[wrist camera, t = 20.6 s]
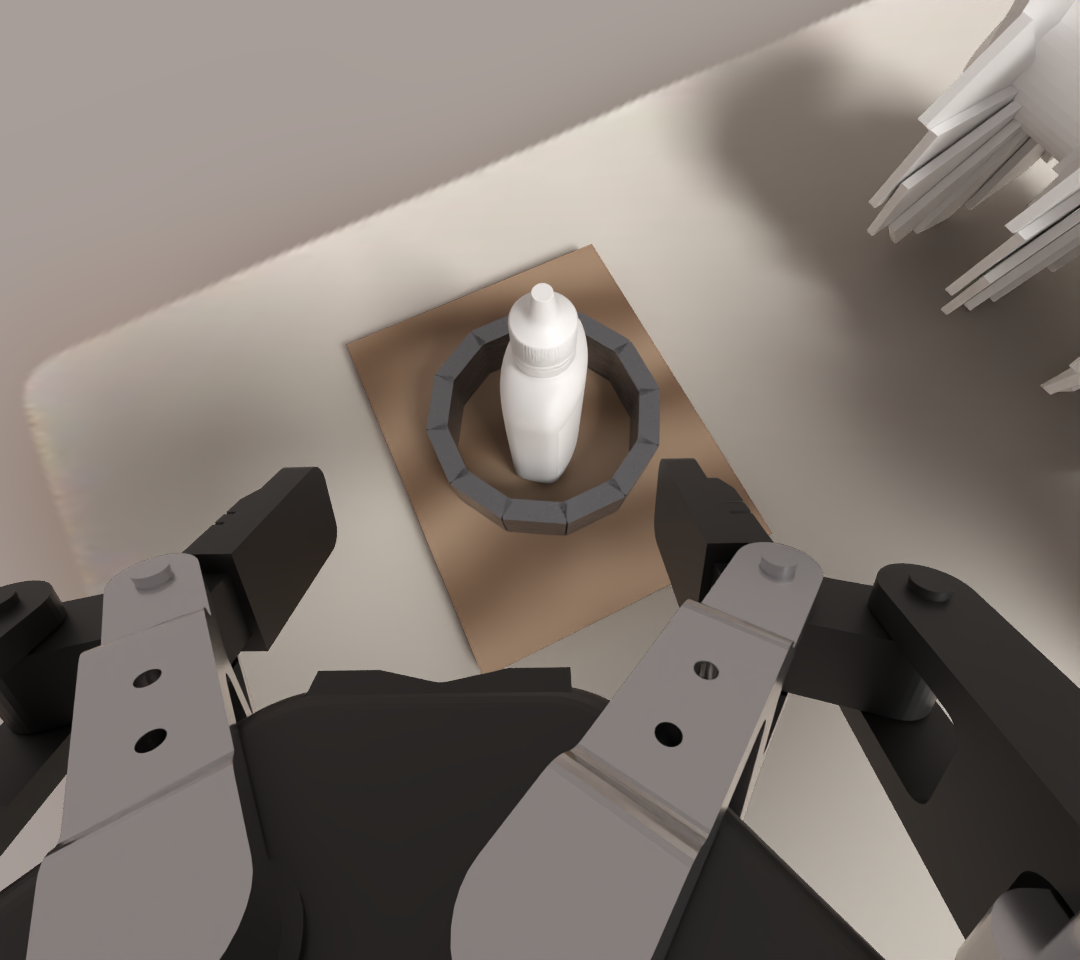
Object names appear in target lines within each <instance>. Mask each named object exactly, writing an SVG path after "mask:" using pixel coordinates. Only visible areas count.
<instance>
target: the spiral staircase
mask: <svg viewBox="0 0 1080 960" xmlns="http://www.w3.org/2000/svg"><path fill="white" fill-rule="evenodd" d="M918 120H919V121H920V122H921V123H922V124H923V125H924V126H925V127H926V128H927V129H928V130H929V131H928V132H927V134H926V135H925V136H924V137H923V138H922V140H921V141H920V142H919V143H918V144H917V145H916V147H915V148H914V149H913V150H912V151H911V152H910V154H909V155H908V156H907V157H906V158H905V159H904V161H903V162H902V163H901V164H900V165H899V167H898V168H897V169H896V170H895V171H894V172H893V174H892V175H891V176H890V177H889V178H888V179H887V181H886V182H885V183H884V184H883V185H882V187H881V188H880V189H879V190H878V191H877V192H876V194H875V195H874V196H873V197H872V198H871V199H870V201H869V203H870V204H871V205H872V206H873V207H874V208H876V207H878V206H879V205H881V204H883V203H885V202H886V201H888V200H889V201H888V202H887V204H886V205H885V206H884V208H883V209H882V210H881V212H880V213H879V214H878V216H877V217H876V218H875V220H874V221H873V223H872V224H871V225H870V227H869V228H868V229H867V232H868V233H869V234H870V235H871V236H874V235H875V234H877V233H878V232H879V231H881V230H882V229H883V228H885V227H886V226H888V225H889V224H890V223H891V224H890V225H889V234H890V239H891V240H892V241H893V242H894V243H895V244H896V243H897V242H898V241H900V240H901V239H902V238H903V237H904V236H906V235H907V234H908V233H909V232H911V231H912V230H913V231H914V232H915V233H916V234H919V233H921V232H923V231H925V230H926V229H928V228H930V227H932V226H934V225H936V224H938V223H940V222H942V221H944V220H946V219H948V218H949V217H950V216H951V215H952V214H953V213H955V212H956V211H957V210H958V209H959V208H960V207H961V206H963V205H964V204H965V203H966V202H967V201H968V200H969V199H970V198H971V199H970V200H969V201H968V202H967V203H966V204H965V206H966V207H967V208H968V209H969V210H972V209H973V208H974V207H976V206H977V205H979V204H980V203H982V202H983V201H984V200H986V199H987V198H989V197H990V196H991V195H993V194H994V193H996V192H997V191H998V190H1000V189H1001V188H1003V187H1004V186H1005V185H1007V184H1008V183H1010V182H1011V181H1012V180H1014V179H1015V178H1017V177H1018V176H1019V175H1021V174H1022V173H1024V172H1025V171H1026V170H1028V169H1029V168H1030V167H1031V166H1032V165H1033V164H1034V163H1035V162H1036V161H1037V160H1038V159H1039V158H1040V157H1041V156H1042V157H1041V159H1043V160H1044V161H1045V162H1046V163H1048V162H1049V161H1050V160H1052V159H1053V158H1055V159H1056V160H1057V161H1059V163H1058V164H1057V165H1055V166H1054V167H1053V168H1052V169H1053V170H1054V171H1055V172H1056V173H1058V174H1059V176H1058V177H1057V178H1056V179H1055V180H1054V181H1053V182H1051V183H1050V184H1049V185H1048V186H1047V187H1046V188H1045V189H1044V190H1043V191H1042V192H1041V193H1040V194H1039V195H1038V196H1037V197H1035V198H1034V199H1033V200H1032V201H1031V202H1030V203H1029V204H1028V205H1027V206H1028V208H1027V209H1026V210H1024V211H1023V212H1022V213H1020V214H1019V215H1018V216H1016V217H1015V218H1014V219H1013V220H1011V221H1010V222H1009V223H1007V224H1006V225H1005V227H1007V228H1008V229H1009V230H1010V231H1011V232H1012V233H1016V234H1015V235H1013V236H1012V237H1011V238H1010V239H1008V240H1007V241H1006V242H1004V243H1003V244H1002V245H1001V246H999V247H998V248H997V249H995V250H994V251H993V252H992V253H990V254H989V255H988V256H987V257H985V258H984V259H983V260H981V261H980V262H979V263H978V264H976V265H975V266H974V267H972V268H971V269H970V270H969V271H967V272H966V273H965V274H964V275H962V276H961V277H960V278H958V279H957V280H956V281H955V282H953V283H952V284H951V285H949V286H948V287H947V288H946V289H945V290H946V291H947V292H948V293H949V294H950V295H951V296H952V295H954V294H955V293H957V292H958V291H960V290H961V289H963V288H964V287H965V286H967V285H968V284H970V283H971V282H973V281H974V280H976V279H977V278H979V277H980V276H982V275H983V274H985V273H986V272H988V271H989V270H990V269H992V268H993V267H995V266H996V265H998V264H999V263H1001V262H1002V261H1004V260H1005V259H1007V258H1008V257H1010V256H1011V255H1013V254H1014V253H1016V252H1017V251H1018V250H1020V249H1021V248H1023V247H1024V246H1026V245H1027V244H1029V243H1030V242H1031V243H1030V244H1029V245H1027V246H1026V247H1024V248H1023V249H1021V250H1020V251H1019V252H1017V253H1016V254H1014V255H1013V256H1011V257H1010V258H1009V259H1007V260H1006V261H1004V262H1003V263H1001V264H1000V265H999V266H997V267H996V268H994V269H993V270H991V271H990V272H989V273H987V274H986V275H984V276H983V277H982V278H980V279H979V280H978V281H976V282H975V283H974V284H972V285H971V286H970V287H968V288H967V289H966V290H965V291H963V292H962V293H961V294H959V295H958V296H957V297H955V298H954V299H953V300H952V301H950V302H949V303H948V304H946V305H945V306H944V307H942V308H941V310H942V311H943V312H944V313H945V314H946V315H948V314H949V313H951V312H952V311H954V310H955V309H957V308H958V307H959V306H961V305H962V304H964V303H965V302H966V303H965V304H964V306H965V307H966V308H967V309H968V310H969V311H970V310H972V309H973V308H975V307H976V306H978V305H979V304H981V303H982V302H984V301H985V300H986V299H988V298H990V299H991V300H992V301H993V302H995V301H997V300H998V299H1000V298H1001V297H1003V296H1004V295H1006V294H1007V293H1009V292H1010V291H1011V290H1013V289H1014V288H1016V287H1017V286H1019V285H1020V284H1022V283H1023V282H1025V281H1026V280H1028V279H1029V278H1031V277H1032V276H1034V275H1035V274H1037V273H1038V272H1040V271H1041V270H1043V269H1044V268H1046V267H1047V268H1048V269H1049V270H1050V271H1052V272H1055V271H1056V270H1058V269H1059V268H1061V267H1063V266H1064V265H1066V264H1067V263H1069V262H1070V261H1072V260H1074V259H1075V258H1077V257H1078V256H1080V209H1079V208H1080V0H1015V2H1014V4H1013V5H1012V7H1011V9H1010V10H1009V12H1008V14H1007V15H1006V17H1005V18H1004V20H1003V21H1002V22H1001V23H1000V24H999V25H998V26H997V27H996V28H995V29H994V30H993V31H992V32H991V34H990V35H989V36H988V37H987V38H986V39H985V41H984V42H983V43H982V44H981V45H980V47H979V48H978V49H977V50H976V52H975V53H974V54H973V56H972V57H971V59H970V60H969V62H968V63H967V65H966V66H965V68H964V70H963V73H962V74H961V75H960V76H959V77H958V79H957V80H956V81H955V82H954V83H953V84H952V85H951V86H950V87H949V88H948V89H947V90H946V91H945V92H944V93H943V94H942V95H941V96H940V97H939V98H938V99H937V100H936V101H935V102H934V103H933V104H932V105H931V106H930V107H929V108H928V109H927V110H926V111H925V112H924V113H923V114H922V115H921V116H920V117H919V118H918ZM1077 209H1079V210H1077ZM1076 210H1077V211H1076ZM1074 211H1076V212H1074ZM1073 212H1074V213H1073ZM1072 213H1073V214H1072ZM1070 214H1072V215H1070ZM1069 215H1070V216H1069ZM1068 216H1069V217H1068ZM1066 217H1067V218H1066ZM1065 218H1066V219H1065ZM1062 220H1063V221H1062ZM1058 223H1059V224H1058ZM1055 225H1056V226H1055ZM1052 227H1053V228H1052ZM1049 229H1050V230H1049ZM1070 229H1071V230H1070ZM1048 230H1049V231H1048ZM1046 231H1047V232H1046ZM1045 232H1046V233H1045ZM1043 233H1044V234H1043ZM1042 234H1043V235H1042ZM1039 236H1040V237H1039ZM1060 236H1061V237H1060ZM1038 237H1039V238H1038ZM1036 238H1037V239H1036ZM1035 239H1036V240H1035ZM1033 240H1034V241H1033ZM1032 241H1033V242H1032ZM1050 243H1051V244H1050ZM1047 245H1048V246H1047ZM1040 250H1041V251H1040ZM1037 252H1038V253H1037ZM1034 254H1035V255H1034ZM1030 257H1031V258H1030ZM1027 259H1028V260H1027ZM1024 261H1025V262H1024ZM1021 263H1022V264H1021ZM1020 264H1021V265H1020ZM1017 266H1018V267H1017ZM1014 268H1015V269H1014ZM1011 270H1012V271H1011ZM1010 271H1011V272H1010ZM1007 273H1008V274H1007ZM1004 275H1005V276H1004ZM1001 277H1002V278H1001ZM1000 278H1001V279H1000ZM998 279H999V280H998ZM997 280H998V281H997ZM994 282H995V283H994ZM993 283H994V284H993ZM991 284H992V285H991ZM990 285H991V286H990ZM988 286H989V287H988ZM987 287H988V288H987ZM985 288H986V289H985ZM984 289H985V290H984ZM983 290H984V291H983ZM981 291H982V292H981ZM980 292H981V293H980ZM978 293H979V294H978ZM977 294H978V295H977ZM975 295H976V296H975ZM974 296H975V297H974ZM972 297H974V298H972ZM971 298H972V299H971ZM970 299H971V300H970ZM968 300H969V301H968ZM967 301H968V302H967ZM1069 366H1070V367H1071V368H1069V369H1067V370H1066V371H1064V372H1062V373H1061V374H1059V375H1057V376H1055V377H1054V378H1052V379H1050V380H1049V381H1047V382H1045V383H1043V384H1042V385H1040V386H1041V387H1042V388H1043V389H1044V390H1045V391H1046V392H1048V393H1049V394H1050V395H1051V394H1054V393H1056V392H1064V391H1076V390H1078V389H1080V356H1079V357H1078V358H1077V359H1076V360H1074V361H1073V362H1072V363H1071V364H1070V365H1069Z"/></svg>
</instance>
